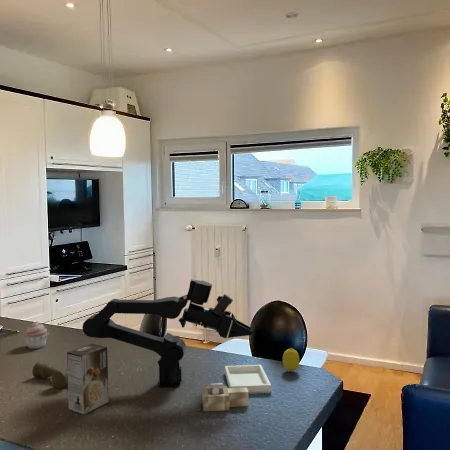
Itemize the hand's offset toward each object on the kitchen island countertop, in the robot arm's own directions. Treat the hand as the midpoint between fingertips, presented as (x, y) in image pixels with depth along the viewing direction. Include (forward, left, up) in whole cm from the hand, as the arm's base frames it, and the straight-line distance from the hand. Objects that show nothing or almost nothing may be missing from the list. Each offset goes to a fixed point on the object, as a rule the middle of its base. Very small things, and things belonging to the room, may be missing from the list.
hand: (251, 331), depth 145 cm
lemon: (+15, +9, -17) cm, 24 cm away
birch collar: (-10, -14, -17) cm, 24 cm away
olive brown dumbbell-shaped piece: (-59, +8, -17) cm, 62 cm away
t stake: (-12, -14, -17) cm, 25 cm away
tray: (-1, +1, -17) cm, 17 cm away
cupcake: (-77, +45, -17) cm, 91 cm away
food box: (-47, -11, -17) cm, 51 cm away
